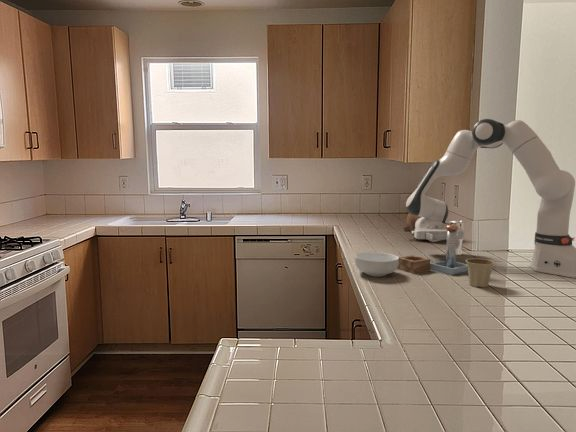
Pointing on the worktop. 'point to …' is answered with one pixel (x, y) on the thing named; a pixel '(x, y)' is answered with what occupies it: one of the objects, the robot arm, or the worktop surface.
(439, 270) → the tray
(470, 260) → the flower pot
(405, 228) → the jug
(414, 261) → the socket block
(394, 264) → the cereal bowl
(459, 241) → the beer glass
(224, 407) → the worktop surface
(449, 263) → the pin
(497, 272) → the worktop surface
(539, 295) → the worktop surface
